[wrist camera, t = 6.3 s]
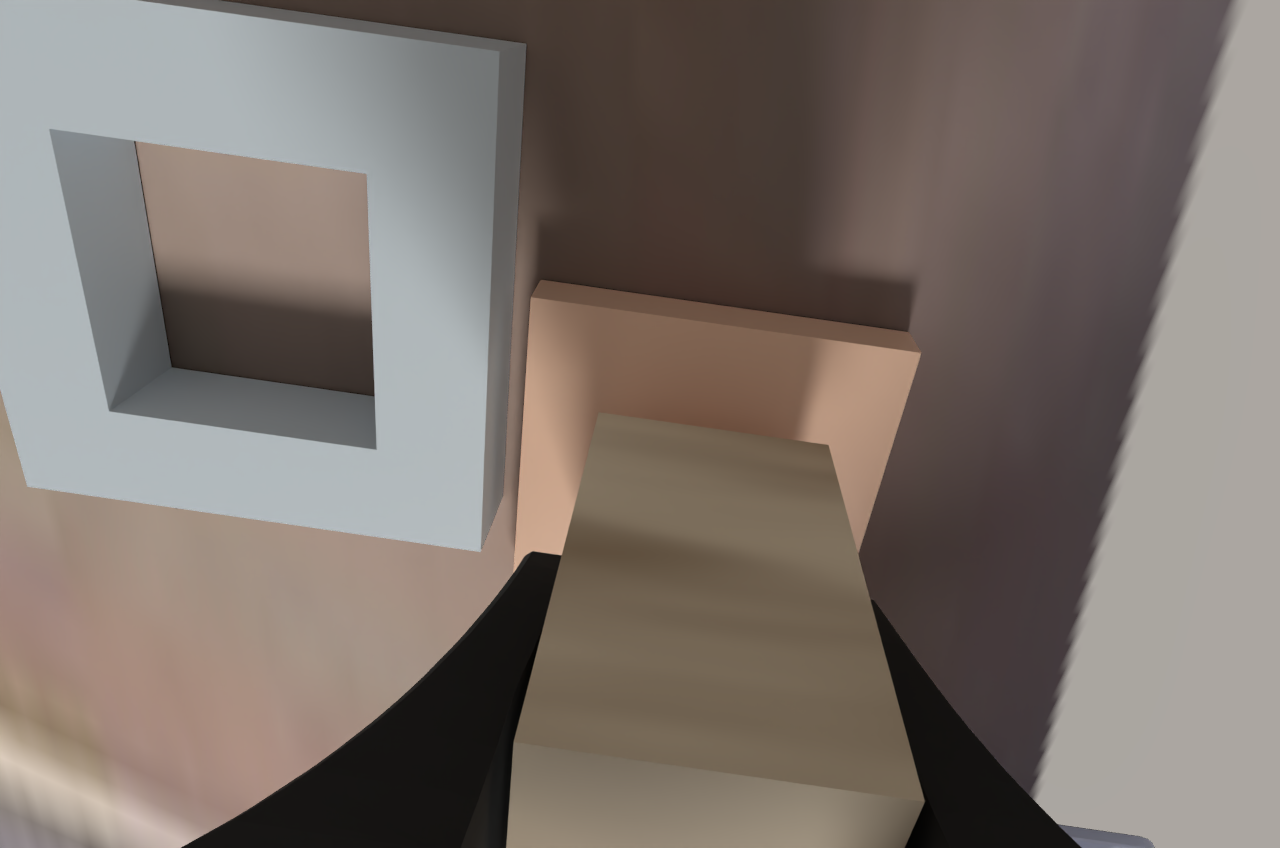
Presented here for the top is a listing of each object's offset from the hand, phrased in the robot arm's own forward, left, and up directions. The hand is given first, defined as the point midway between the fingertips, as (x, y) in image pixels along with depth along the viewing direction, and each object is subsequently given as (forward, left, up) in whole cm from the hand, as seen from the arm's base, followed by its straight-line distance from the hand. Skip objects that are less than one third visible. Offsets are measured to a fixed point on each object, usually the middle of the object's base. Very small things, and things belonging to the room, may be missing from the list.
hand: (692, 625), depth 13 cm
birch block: (0, 0, -3) cm, 3 cm away
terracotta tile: (0, 0, -5) cm, 5 cm away
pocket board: (+3, +9, -5) cm, 10 cm away
